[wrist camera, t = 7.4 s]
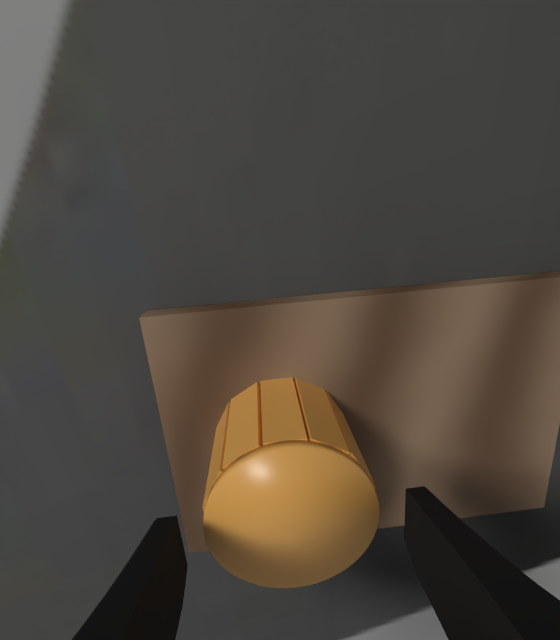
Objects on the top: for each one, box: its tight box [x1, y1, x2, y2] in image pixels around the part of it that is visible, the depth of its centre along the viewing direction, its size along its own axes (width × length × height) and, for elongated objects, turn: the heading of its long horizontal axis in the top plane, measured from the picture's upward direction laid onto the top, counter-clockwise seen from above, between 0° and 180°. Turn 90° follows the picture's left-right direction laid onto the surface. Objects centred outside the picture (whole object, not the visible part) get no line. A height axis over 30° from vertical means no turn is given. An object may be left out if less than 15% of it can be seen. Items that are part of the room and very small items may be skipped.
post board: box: [139, 271, 560, 553], centre depth 14 cm, size 18×12×4 cm, turn 95°
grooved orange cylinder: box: [203, 377, 380, 588], centre depth 13 cm, size 6×6×4 cm
